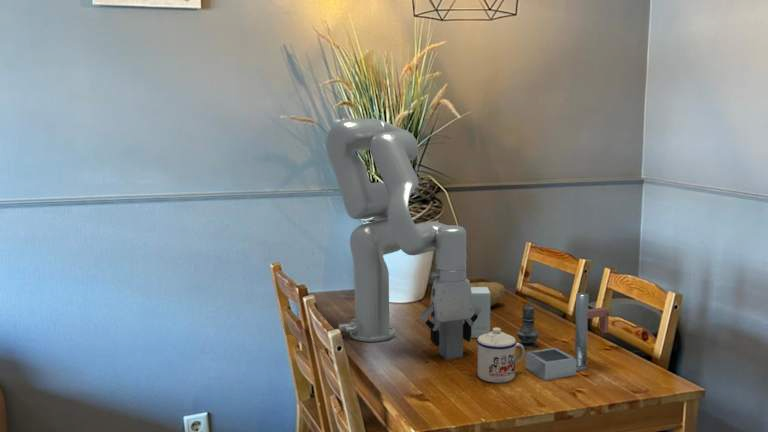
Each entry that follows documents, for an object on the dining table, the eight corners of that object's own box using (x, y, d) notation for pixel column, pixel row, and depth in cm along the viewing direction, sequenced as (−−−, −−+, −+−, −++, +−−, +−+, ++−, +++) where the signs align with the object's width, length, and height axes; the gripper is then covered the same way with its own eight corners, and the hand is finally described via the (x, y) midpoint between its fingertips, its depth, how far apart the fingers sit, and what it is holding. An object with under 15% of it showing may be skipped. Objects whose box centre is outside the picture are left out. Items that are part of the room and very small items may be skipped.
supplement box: (490, 338, 194) (491, 293, 192) (463, 338, 194) (463, 293, 192) (487, 329, 201) (488, 286, 199) (461, 329, 202) (461, 286, 200)
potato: (511, 308, 221) (511, 283, 220) (469, 313, 218) (469, 287, 216) (497, 300, 231) (497, 276, 230) (457, 304, 227) (457, 280, 226)
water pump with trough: (544, 380, 164) (546, 304, 161) (525, 367, 172) (526, 295, 169) (615, 368, 171) (618, 295, 168) (593, 357, 178) (595, 287, 176)
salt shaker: (539, 350, 184) (540, 305, 182) (516, 348, 185) (516, 304, 183) (538, 342, 190) (539, 299, 188) (516, 341, 191) (517, 298, 189)
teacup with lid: (489, 386, 161) (489, 336, 159) (469, 372, 169) (469, 325, 167) (534, 378, 165) (535, 329, 164) (512, 365, 174) (513, 319, 172)
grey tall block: (446, 360, 178) (446, 313, 176) (437, 353, 182) (437, 307, 180) (464, 357, 179) (464, 310, 177) (455, 350, 184) (455, 305, 182)
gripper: (425, 281, 171) (425, 351, 174) (489, 274, 177) (488, 342, 180) (413, 275, 178) (413, 342, 181) (475, 268, 184) (474, 333, 187)
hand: (451, 341), depth 180 cm, fingers open, 8 cm apart
